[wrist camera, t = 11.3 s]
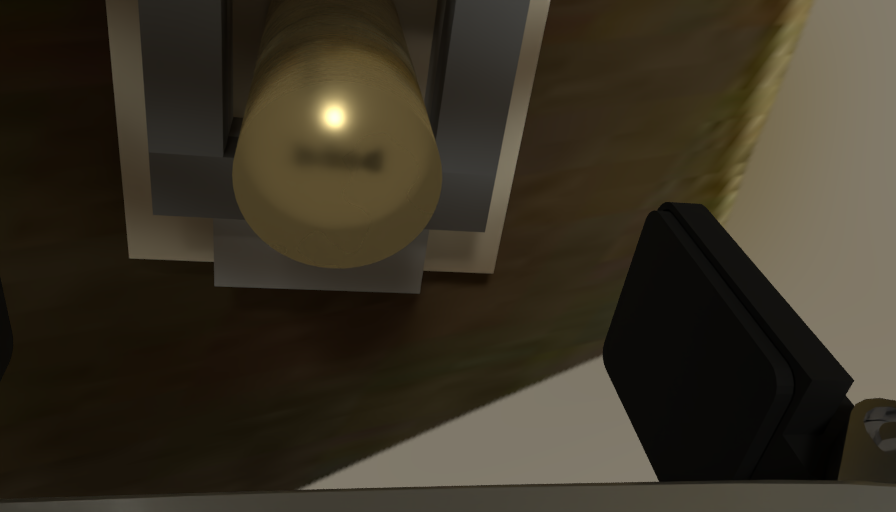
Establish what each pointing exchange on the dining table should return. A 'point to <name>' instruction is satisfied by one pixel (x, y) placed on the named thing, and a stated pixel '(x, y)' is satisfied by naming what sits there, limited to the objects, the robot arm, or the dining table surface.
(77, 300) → the dining table surface
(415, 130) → the brass pin
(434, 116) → the gray stepped fixture base
